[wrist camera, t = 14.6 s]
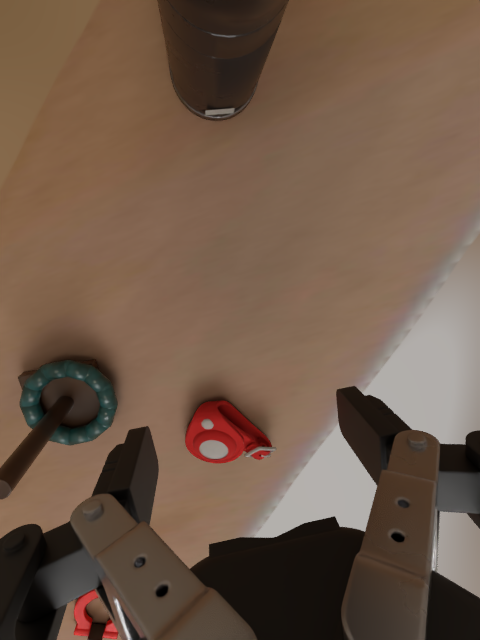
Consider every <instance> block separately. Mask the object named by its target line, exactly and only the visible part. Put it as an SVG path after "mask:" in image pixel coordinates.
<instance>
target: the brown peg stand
mask: <svg viewBox="0 0 480 640" xmlns="http://www.w3.org/2000/svg"><path fill="white" fill-rule="evenodd" d="M80 363H84V364H88V365H91V366H94V367H95V368H96V369H97V370H99V369H98V366H97V362H96V359H94V360H88V361H83V362H80ZM36 371H37V370H34V371H28V372H23V373H22V374H21V375H20V376H19V377H18V379H19V382H20V385H21V388H22V390H23V386H24V383H25V381H26V380H27V379H28V378H29V377H30V376H31V375H32V374H34V373H35V372H36ZM39 402H40V404H41V407H42V410H43V412H44V417H43V418H42V419H41V420H40V421H39V422H38V424H37V425H36V426H35V427H34V428H33V430H32V431H31V432H30V433H29V434H28V436H27V437H26V438H25V439H24V440H23V441H22V443H21V444H20V445H19V446H18V447H17V449H16V450H15V451H14V452H13V453H12V455H11V456H10V457H9V458H8V459H7V461H6V462H5V463H4V464H3V465H2V466H1V468H0V499H4V498H6V497H8V496H9V495H10V493H11V492H12V491H13V489H14V488H15V487H16V485H17V484H18V482H19V481H20V480H21V478H22V477H23V475H24V474H25V473H26V471H27V470H28V468H29V467H30V466H31V464H32V463H33V462H34V460H35V459H36V457H37V456H38V455H39V453H40V452H41V450H42V449H43V448H44V446H45V445H46V444H47V442H48V441H49V439H50V438H51V437H52V435H53V434H54V432H55V431H56V430H57V428H58V427H59V425H61V426H65V427H69V428H76V427H81V426H86V425H88V424H89V423H90V422H91V421H93V420H94V419H95V418H96V417H97V414H98V411H99V408H100V403H99V400H98V397H97V394H96V392H95V391H94V390H93V389H92V388H91V387H90V386H89V385H88V384H86V383H85V382H84V381H81V380H77V379H74V378H70V377H64V378H59V379H55V380H52V381H51V382H49V383H48V384H47V385H46V386H45V387H44V388H43V389H42V392H41V396H40V400H39ZM112 423H113V422H112ZM111 425H112V424H111ZM110 427H111V426H110Z"/></svg>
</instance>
